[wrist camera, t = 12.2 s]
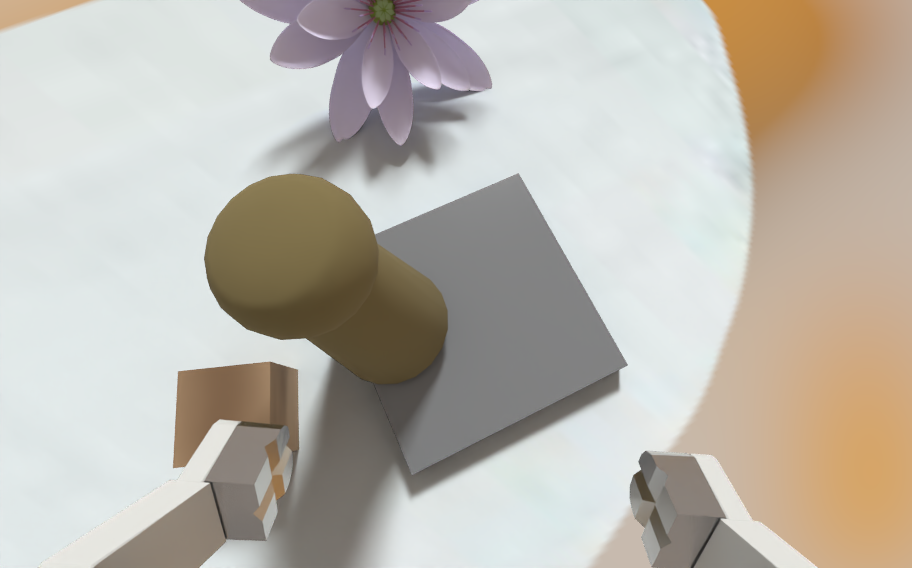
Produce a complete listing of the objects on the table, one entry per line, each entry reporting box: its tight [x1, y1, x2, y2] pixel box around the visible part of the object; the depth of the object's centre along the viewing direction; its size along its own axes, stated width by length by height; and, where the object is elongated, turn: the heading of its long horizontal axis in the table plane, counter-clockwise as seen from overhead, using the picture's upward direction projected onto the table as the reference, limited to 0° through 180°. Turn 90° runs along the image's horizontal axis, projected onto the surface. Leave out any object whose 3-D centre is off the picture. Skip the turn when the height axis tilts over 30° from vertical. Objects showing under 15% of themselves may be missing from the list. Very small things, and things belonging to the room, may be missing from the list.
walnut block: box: [173, 362, 299, 468], centre depth 22 cm, size 4×4×4 cm
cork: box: [204, 174, 448, 384], centre depth 18 cm, size 6×6×11 cm
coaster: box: [373, 173, 628, 475], centre depth 25 cm, size 12×12×1 cm
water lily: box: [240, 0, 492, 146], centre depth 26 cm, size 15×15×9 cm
